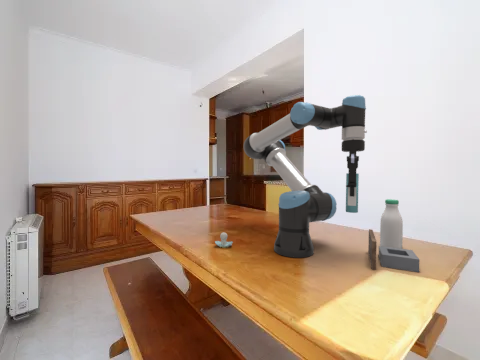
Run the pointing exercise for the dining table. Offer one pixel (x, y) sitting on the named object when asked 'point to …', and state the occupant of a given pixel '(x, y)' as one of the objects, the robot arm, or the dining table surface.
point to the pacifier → (223, 241)
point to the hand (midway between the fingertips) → (351, 204)
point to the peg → (355, 208)
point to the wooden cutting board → (372, 249)
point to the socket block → (398, 258)
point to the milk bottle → (391, 225)
